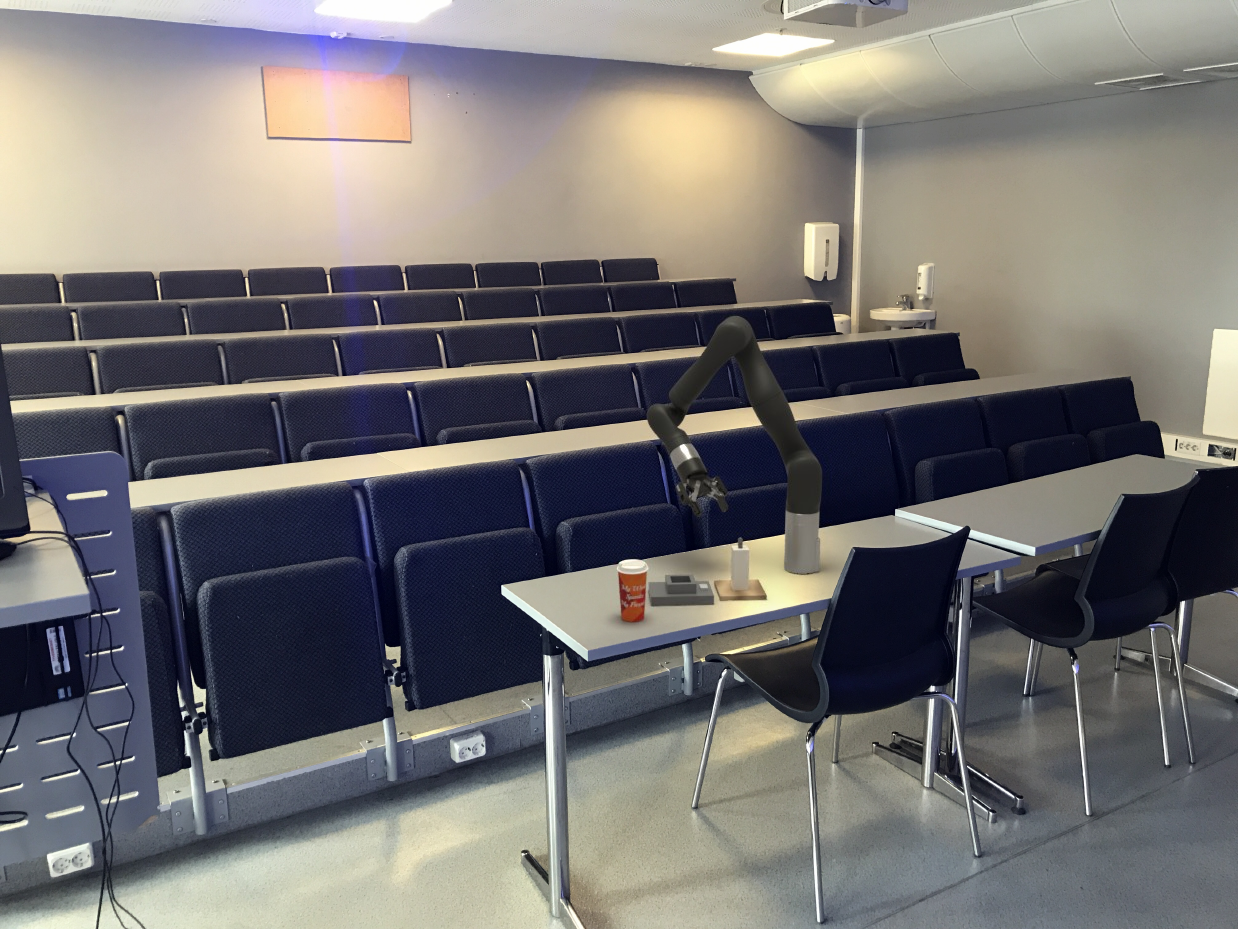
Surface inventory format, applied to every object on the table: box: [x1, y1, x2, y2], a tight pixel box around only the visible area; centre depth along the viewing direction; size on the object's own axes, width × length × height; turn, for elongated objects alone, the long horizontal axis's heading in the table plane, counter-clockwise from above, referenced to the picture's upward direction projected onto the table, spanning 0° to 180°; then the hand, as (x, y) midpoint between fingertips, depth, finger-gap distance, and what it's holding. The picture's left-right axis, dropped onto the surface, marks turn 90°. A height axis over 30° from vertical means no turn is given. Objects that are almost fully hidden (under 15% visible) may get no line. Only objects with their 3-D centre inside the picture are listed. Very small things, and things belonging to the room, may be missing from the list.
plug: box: [730, 536, 750, 590], centre depth 244 cm, size 4×4×14 cm
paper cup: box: [616, 558, 650, 623], centre depth 228 cm, size 8×8×14 cm
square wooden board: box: [713, 578, 768, 602], centre depth 246 cm, size 12×12×1 cm
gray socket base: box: [648, 573, 715, 607], centre depth 242 cm, size 16×11×5 cm
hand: (713, 512), depth 252 cm, fingers open, 8 cm apart
